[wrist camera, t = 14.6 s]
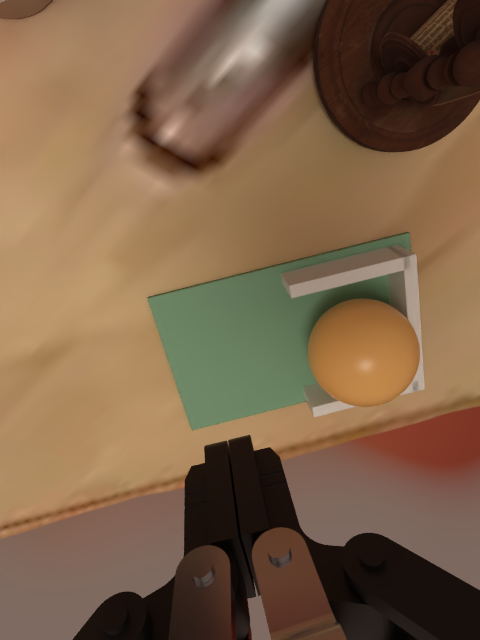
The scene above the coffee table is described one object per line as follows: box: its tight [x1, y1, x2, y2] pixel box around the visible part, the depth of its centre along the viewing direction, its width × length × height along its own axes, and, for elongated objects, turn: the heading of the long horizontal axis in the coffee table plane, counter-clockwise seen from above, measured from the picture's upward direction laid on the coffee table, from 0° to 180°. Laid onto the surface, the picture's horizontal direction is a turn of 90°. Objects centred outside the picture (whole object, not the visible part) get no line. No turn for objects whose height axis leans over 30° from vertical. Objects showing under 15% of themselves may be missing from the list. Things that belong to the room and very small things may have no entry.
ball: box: [308, 298, 420, 407], centre depth 39 cm, size 10×10×10 cm
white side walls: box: [280, 245, 424, 417], centre depth 42 cm, size 12×14×4 cm
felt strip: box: [147, 232, 411, 430], centre depth 44 cm, size 26×16×1 cm, turn 103°
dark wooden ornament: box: [314, 0, 480, 152], centre depth 26 cm, size 15×15×20 cm
